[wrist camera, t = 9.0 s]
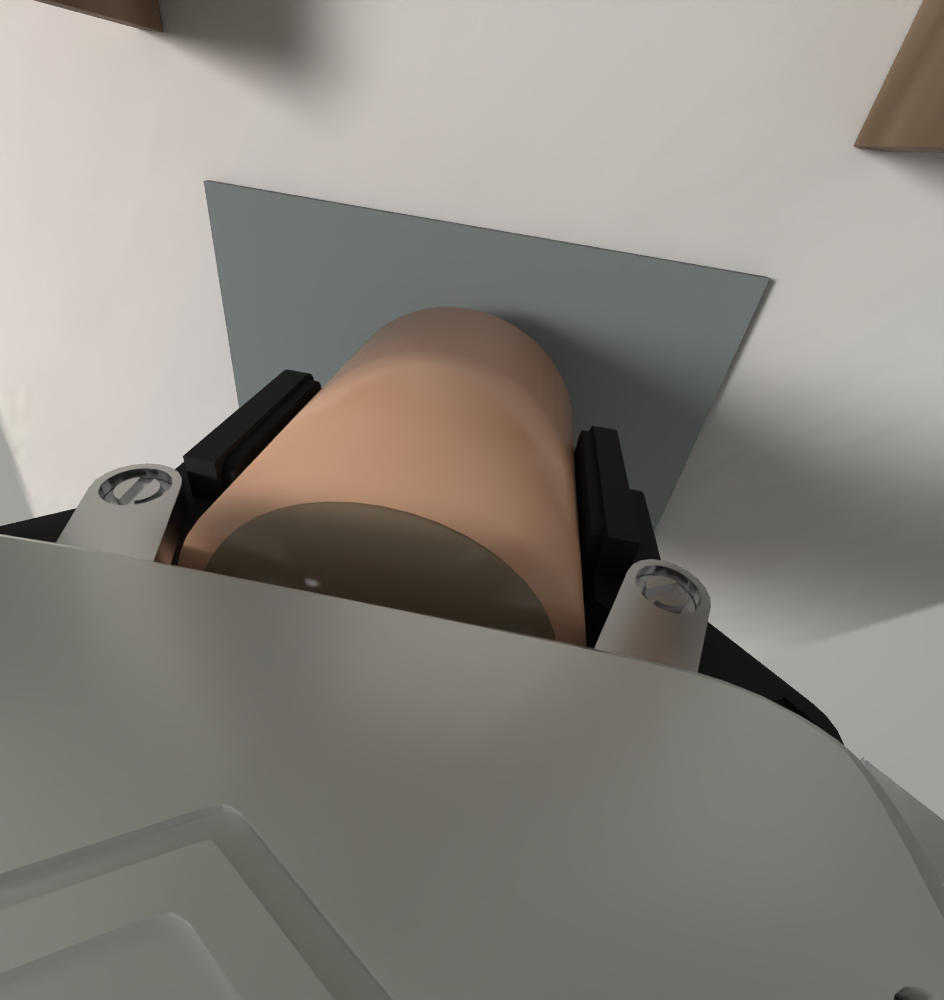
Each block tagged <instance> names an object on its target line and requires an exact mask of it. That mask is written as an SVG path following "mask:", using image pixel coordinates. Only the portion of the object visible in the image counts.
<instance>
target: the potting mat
mask: <svg viewBox="0 0 944 1000" xmlns="http://www.w3.org/2000/svg"><path fill="white" fill-rule="evenodd" d="M204 186H205V192H206V199H207V205H208V212H209V218H210V224H211V231H212V237H213V244H214V250H215V256H216V263H217V269H218V276H219V282H220V288H221V295H222V301H223V308H224V314H225V320H226V327H227V333H228V340H229V346H230V352H231V359H232V365H233V372H234V378H235V384H236V391H237V397H238V404H239V408H240V407H241V406H243V405H244V404H245V403H246V402H247V401H248V400H250V399H251V398H252V397H253V396H254V395H256V394H257V393H258V392H259V391H260V390H261V389H263V388H264V387H265V386H266V385H267V384H268V383H270V382H271V381H272V380H273V379H274V378H276V377H277V376H278V375H279V374H280V373H281V372H283V371H284V370H286V369H288V370H294V371H299V372H305V373H310V374H312V375H313V378H314V381H319V382H320V384H321V389H322V387H323V386H324V385H325V384H326V383H327V382H328V381H329V380H330V379H331V378H332V377H333V376H334V375H335V374H336V373H337V372H338V370H339V369H340V368H341V367H342V366H343V365H344V364H345V363H346V362H347V361H348V360H349V359H350V358H351V357H352V356H353V355H354V353H355V352H356V351H357V350H358V349H359V348H360V347H361V346H362V345H363V344H364V343H365V342H366V341H367V340H368V339H369V338H370V337H371V336H372V335H373V334H374V333H375V332H376V331H378V330H379V329H380V328H382V327H383V326H385V325H386V324H388V323H389V322H391V321H393V320H395V319H397V318H399V317H401V316H403V315H406V314H409V313H412V312H415V311H418V310H424V309H429V308H435V307H457V308H466V309H472V310H476V311H480V312H484V313H488V314H490V315H493V316H495V317H498V318H500V319H503V320H505V321H506V322H508V323H510V324H512V325H514V326H515V327H517V328H519V329H520V330H521V331H523V332H524V333H525V334H527V335H528V336H529V337H531V338H532V339H533V340H534V341H535V342H536V343H537V344H538V345H539V346H540V347H541V348H542V349H543V350H544V351H545V352H546V353H547V355H548V356H549V357H550V359H551V360H552V361H553V363H554V364H555V366H556V368H557V369H558V371H559V373H560V375H561V376H562V379H563V381H564V384H565V386H566V389H567V391H568V395H569V399H570V404H571V411H572V423H573V439H574V451H575V448H576V444H577V441H578V438H579V434H580V432H581V430H585V431H589V430H590V428H591V426H598V427H604V428H609V429H615V430H617V432H618V436H619V441H620V446H621V451H622V455H623V460H624V465H625V470H626V474H627V479H628V484H629V488H630V489H634V490H639V491H642V492H643V493H644V496H645V499H646V503H647V507H648V511H649V515H650V519H651V523H652V527H653V531H654V530H655V528H656V526H657V524H658V521H659V519H660V517H661V515H662V513H663V511H664V508H665V506H666V504H667V502H668V500H669V497H670V495H671V493H672V491H673V489H674V487H675V484H676V482H677V480H678V478H679V476H680V473H681V471H682V469H683V467H684V465H685V463H686V460H687V458H688V456H689V454H690V452H691V449H692V447H693V445H694V443H695V441H696V439H697V436H698V434H699V432H700V430H701V428H702V425H703V423H704V421H705V419H706V417H707V415H708V412H709V410H710V408H711V406H712V404H713V401H714V399H715V397H716V395H717V393H718V391H719V388H720V386H721V384H722V382H723V380H724V377H725V375H726V373H727V371H728V369H729V367H730V364H731V362H732V360H733V358H734V356H735V353H736V351H737V349H738V347H739V345H740V343H741V340H742V338H743V336H744V334H745V332H746V329H747V327H748V325H749V323H750V321H751V319H752V316H753V314H754V312H755V310H756V308H757V305H758V303H759V301H760V299H761V297H762V295H763V292H764V290H765V288H766V286H767V284H768V281H769V278H768V277H764V276H758V275H753V274H747V273H741V272H735V271H730V270H724V269H718V268H712V267H706V266H701V265H695V264H689V263H683V262H677V261H672V260H666V259H660V258H654V257H649V256H643V255H637V254H631V253H625V252H620V251H614V250H608V249H602V248H597V247H591V246H585V245H579V244H573V243H568V242H562V241H556V240H550V239H545V238H539V237H533V236H527V235H521V234H516V233H510V232H504V231H498V230H493V229H487V228H481V227H475V226H469V225H464V224H458V223H452V222H446V221H441V220H435V219H429V218H423V217H417V216H412V215H406V214H400V213H394V212H388V211H383V210H377V209H371V208H365V207H360V206H354V205H348V204H342V203H336V202H331V201H325V200H319V199H313V198H308V197H302V196H296V195H290V194H284V193H279V192H273V191H267V190H261V189H256V188H250V187H244V186H238V185H232V184H227V183H221V182H215V181H209V180H207V181H204Z"/></svg>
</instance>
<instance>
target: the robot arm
mask: <svg viewBox="0 0 944 1000" xmlns="http://www.w3.org/2000/svg"><path fill="white" fill-rule="evenodd" d="M320 390H321V384H320V382H319V381H314V378H313V375H312V374H310V373H305V372H299V371H294V370H288V369H286V370H284V371H283V372H281V373H280V374H279V375H278V376H277V377H276V378H274V379H273V380H272V381H271V382H270V383H268V384H267V385H266V386H265V387H264V388H263V389H261V390H260V391H259V392H258V393H257V394H256V395H254V396H253V397H252V398H251V399H250V400H248V401H247V402H246V403H245V404H244V405H243V406H241V407H240V408H239V409H238V410H237V411H235V412H234V413H233V414H232V415H231V416H230V417H228V418H227V419H226V420H225V421H224V422H223V423H221V424H220V425H219V426H218V427H217V428H215V429H214V430H213V431H212V432H211V433H210V434H208V435H207V436H206V437H205V438H204V439H202V440H201V441H200V442H199V443H198V444H197V445H195V446H194V447H193V448H192V449H191V450H189V451H188V452H187V453H186V454H185V455H184V456H183V458H184V462H183V463H182V464H181V465H180V466H178V467H177V468H176V469H175V470H174V469H172V468H171V467H167V466H164V465H160V464H138V465H130V466H126V467H122V468H118V469H116V470H113V471H111V472H108V473H106V474H104V475H103V476H101V477H99V478H98V479H96V480H95V481H94V482H93V484H92V485H91V486H90V487H89V488H88V490H87V492H86V493H85V495H84V497H83V498H82V500H81V502H80V503H79V505H78V507H77V508H76V509H71V510H67V511H63V512H59V513H54V514H50V515H46V516H42V517H37V518H33V519H29V520H25V521H20V522H16V523H12V524H7V525H3V526H0V1000H944V820H942V819H941V818H940V817H939V816H937V815H936V814H935V813H934V812H932V811H931V810H930V809H928V808H927V807H926V806H925V805H923V804H922V803H921V802H919V801H918V800H917V799H915V798H914V797H913V796H912V795H910V794H909V793H908V792H906V791H905V790H904V789H903V788H901V787H900V786H899V785H897V784H896V783H895V782H894V781H892V780H891V779H890V778H888V777H887V776H886V775H885V774H883V773H882V772H881V771H879V770H878V769H877V768H875V767H874V766H873V765H872V764H870V763H869V762H868V761H867V760H865V759H864V758H862V759H861V760H859V759H858V758H857V757H856V756H855V755H854V754H853V753H852V752H851V751H849V750H848V749H847V748H846V747H845V746H844V744H843V742H842V739H841V737H840V735H839V733H838V731H837V729H836V728H835V727H834V726H833V724H832V723H831V721H830V720H829V719H828V718H827V716H826V715H825V714H824V713H823V712H821V711H820V710H819V709H818V708H817V707H816V706H815V705H814V704H813V703H811V702H810V701H809V700H807V699H806V698H805V697H804V696H802V695H801V694H800V693H799V692H797V691H796V690H795V689H793V688H792V687H791V686H790V685H788V684H787V683H786V682H784V681H783V680H782V679H781V678H779V677H778V676H777V675H775V674H774V673H773V672H772V671H770V670H769V669H768V668H767V667H765V666H764V665H763V664H761V663H760V662H759V661H758V660H756V659H755V658H754V657H752V656H751V655H750V654H749V653H747V652H746V651H745V650H743V649H742V648H741V647H740V646H738V645H737V644H736V643H734V642H733V641H732V640H731V639H729V638H728V637H727V636H725V635H724V634H723V633H722V632H720V631H719V630H718V629H716V628H715V627H714V626H713V625H711V624H710V623H709V622H708V618H709V613H710V608H711V605H710V597H709V594H708V592H707V590H706V588H705V587H704V586H703V585H702V583H701V582H700V581H699V580H698V579H697V578H696V577H695V576H693V575H692V574H691V573H689V572H688V571H687V570H685V569H683V568H681V567H679V566H677V565H675V564H672V563H669V562H666V561H662V560H661V559H660V555H659V551H658V547H657V543H656V539H655V535H654V531H653V527H652V523H651V519H650V515H649V511H648V507H647V503H646V499H645V496H644V493H643V492H642V491H639V490H634V489H630V488H629V484H628V479H627V474H626V470H625V465H624V460H623V455H622V451H621V446H620V441H619V436H618V432H617V430H615V429H609V428H604V427H598V426H591V428H590V430H589V431H585V430H581V432H580V434H579V438H578V441H577V444H576V448H575V451H574V455H575V471H576V487H577V503H578V519H579V535H580V551H581V567H582V582H583V598H584V614H585V630H586V646H587V647H584V646H579V645H574V644H569V643H565V642H560V641H555V640H550V639H545V638H540V637H535V636H530V635H525V634H520V633H515V632H510V631H505V630H500V629H495V628H490V627H485V626H480V625H475V624H470V623H465V622H460V621H455V620H450V619H445V618H440V617H435V616H430V615H425V614H420V613H415V612H410V611H405V610H400V609H395V608H390V607H385V606H380V605H375V604H369V603H364V602H359V601H354V600H349V599H344V598H339V597H334V596H329V595H324V594H319V593H314V592H308V591H303V590H298V589H293V588H288V587H283V586H278V585H273V584H268V583H263V582H257V581H252V580H247V579H242V578H237V577H232V576H227V575H222V574H217V573H212V572H206V571H201V570H196V569H191V568H186V567H180V566H178V562H179V556H180V551H181V549H182V547H183V544H184V542H185V539H186V537H187V535H188V533H189V532H190V531H191V529H192V528H193V526H194V525H195V523H196V522H197V521H198V519H199V518H200V517H201V516H202V515H203V514H204V513H205V512H206V511H207V510H208V509H209V508H210V506H211V505H212V504H213V503H214V502H215V501H216V500H217V499H218V498H219V497H220V496H221V495H222V494H223V493H224V492H225V491H226V489H227V488H228V487H229V486H230V485H231V484H232V483H233V482H234V481H235V480H236V479H237V478H238V477H239V476H240V475H241V474H242V472H243V471H244V470H245V469H246V468H247V467H248V466H249V465H250V464H251V463H252V462H253V461H254V460H255V459H256V458H257V457H258V455H259V454H260V453H261V452H262V451H263V450H264V449H265V448H266V447H267V446H268V445H269V444H270V443H271V442H272V441H273V440H274V438H275V437H276V436H277V435H278V434H279V433H280V432H281V431H282V430H283V429H284V428H285V427H286V426H287V425H288V424H289V423H290V421H291V420H292V419H293V418H294V417H295V416H296V415H297V414H298V413H299V412H300V411H301V410H302V409H303V408H304V407H305V406H306V404H307V403H308V402H309V401H310V400H311V399H312V398H313V397H314V396H315V395H316V394H317V393H318V392H319V391H320Z"/></svg>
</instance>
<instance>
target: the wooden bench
mask: <svg viewBox="0 0 944 1000" xmlns="http://www.w3.org/2000/svg"><path fill="white" fill-rule="evenodd" d="M35 1H39V2H42V3H46V4H50V5H53V6H57V7H61V8H64V9H68V10H72V11H75V12H79V13H83V14H87V15H90V16H94V17H98V18H101V19H105V20H109V21H112V22H116V23H120V24H123V25H127V26H131V27H134V28H140V29H147V30H153V31H159V32H163V30H162V24H161V18H160V12H159V6H158V0H35ZM854 146H856V147H862V148H868V149H874V150H881V151H897V152H930V153H944V0H923V3H922V5H921V7H920V9H919V11H918V13H917V15H916V17H915V19H914V21H913V23H912V25H911V28H910V30H909V32H908V34H907V36H906V38H905V40H904V42H903V44H902V46H901V48H900V50H899V52H898V55H897V57H896V59H895V61H894V63H893V65H892V67H891V69H890V71H889V73H888V75H887V77H886V80H885V82H884V84H883V86H882V88H881V90H880V92H879V94H878V96H877V98H876V100H875V102H874V104H873V107H872V109H871V111H870V113H869V115H868V117H867V119H866V121H865V123H864V125H863V127H862V129H861V132H860V134H859V136H858V138H857V140H856V142H855V144H854Z"/></svg>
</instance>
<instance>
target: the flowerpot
mask: <svg viewBox="0 0 944 1000" xmlns="http://www.w3.org/2000/svg"><path fill="white" fill-rule="evenodd" d="M178 566H180V567H186V568H191V569H196V570H201V571H206V572H212V573H217V574H222V575H227V576H232V577H237V578H242V579H247V580H252V581H257V582H263V583H268V584H273V585H278V586H283V587H288V588H293V589H298V590H303V591H308V592H314V593H319V594H324V595H329V596H334V597H339V598H344V599H349V600H354V601H359V602H364V603H369V604H375V605H380V606H385V607H390V608H395V609H400V610H405V611H410V612H415V613H420V614H425V615H430V616H435V617H440V618H445V619H450V620H455V621H460V622H465V623H470V624H475V625H480V626H485V627H490V628H495V629H500V630H505V631H510V632H515V633H520V634H525V635H530V636H535V637H540V638H545V639H550V640H555V641H560V642H565V643H569V644H574V645H579V646H584V647H587V646H586V630H585V614H584V598H583V582H582V567H581V551H580V535H579V519H578V503H577V487H576V471H575V455H574V439H573V423H572V411H571V404H570V399H569V395H568V391H567V389H566V386H565V384H564V381H563V379H562V376H561V375H560V373H559V371H558V369H557V368H556V366H555V364H554V363H553V361H552V360H551V359H550V357H549V356H548V355H547V353H546V352H545V351H544V350H543V349H542V348H541V347H540V346H539V345H538V344H537V343H536V342H535V341H534V340H533V339H532V338H531V337H529V336H528V335H527V334H525V333H524V332H523V331H521V330H520V329H519V328H517V327H515V326H514V325H512V324H510V323H508V322H506V321H505V320H503V319H500V318H498V317H495V316H493V315H490V314H488V313H484V312H480V311H476V310H472V309H466V308H457V307H435V308H429V309H424V310H418V311H415V312H412V313H409V314H406V315H403V316H401V317H399V318H397V319H395V320H393V321H391V322H389V323H388V324H386V325H385V326H383V327H382V328H380V329H379V330H378V331H376V332H375V333H374V334H373V335H372V336H371V337H370V338H369V339H368V340H367V341H366V342H365V343H364V344H363V345H362V346H361V347H360V348H359V349H358V350H357V351H356V352H355V353H354V355H353V356H352V357H351V358H350V359H349V360H348V361H347V362H346V363H345V364H344V365H343V366H342V367H341V368H340V369H339V370H338V372H337V373H336V374H335V375H334V376H333V377H332V378H331V379H330V380H329V381H328V382H327V383H326V384H325V385H324V386H323V387H322V389H321V390H320V391H319V392H318V393H317V394H316V395H315V396H314V397H313V398H312V399H311V400H310V401H309V402H308V403H307V404H306V406H305V407H304V408H303V409H302V410H301V411H300V412H299V413H298V414H297V415H296V416H295V417H294V418H293V419H292V420H291V421H290V423H289V424H288V425H287V426H286V427H285V428H284V429H283V430H282V431H281V432H280V433H279V434H278V435H277V436H276V437H275V438H274V440H273V441H272V442H271V443H270V444H269V445H268V446H267V447H266V448H265V449H264V450H263V451H262V452H261V453H260V454H259V455H258V457H257V458H256V459H255V460H254V461H253V462H252V463H251V464H250V465H249V466H248V467H247V468H246V469H245V470H244V471H243V472H242V474H241V475H240V476H239V477H238V478H237V479H236V480H235V481H234V482H233V483H232V484H231V485H230V486H229V487H228V488H227V489H226V491H225V492H224V493H223V494H222V495H221V496H220V497H219V498H218V499H217V500H216V501H215V502H214V503H213V504H212V505H211V506H210V508H209V509H208V510H207V511H206V512H205V513H204V514H203V515H202V516H201V517H200V518H199V519H198V521H197V522H196V523H195V525H194V526H193V528H192V529H191V531H190V532H189V533H188V535H187V537H186V539H185V542H184V544H183V547H182V549H181V551H180V556H179V562H178Z"/></svg>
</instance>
